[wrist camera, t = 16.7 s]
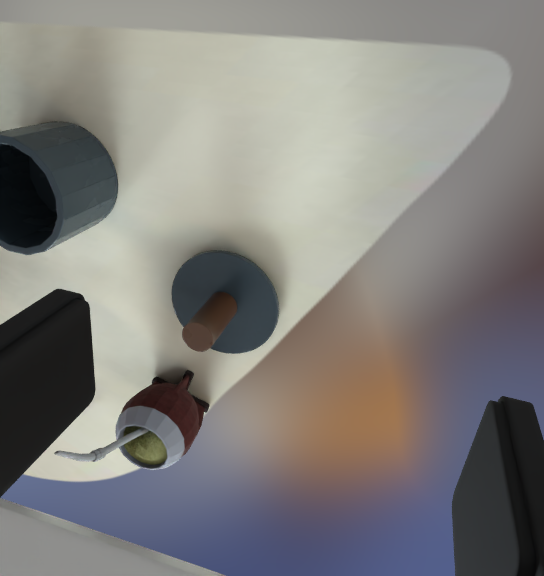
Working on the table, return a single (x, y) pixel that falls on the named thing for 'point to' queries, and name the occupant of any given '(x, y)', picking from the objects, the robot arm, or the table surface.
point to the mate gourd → (154, 426)
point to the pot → (52, 185)
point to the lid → (224, 303)
